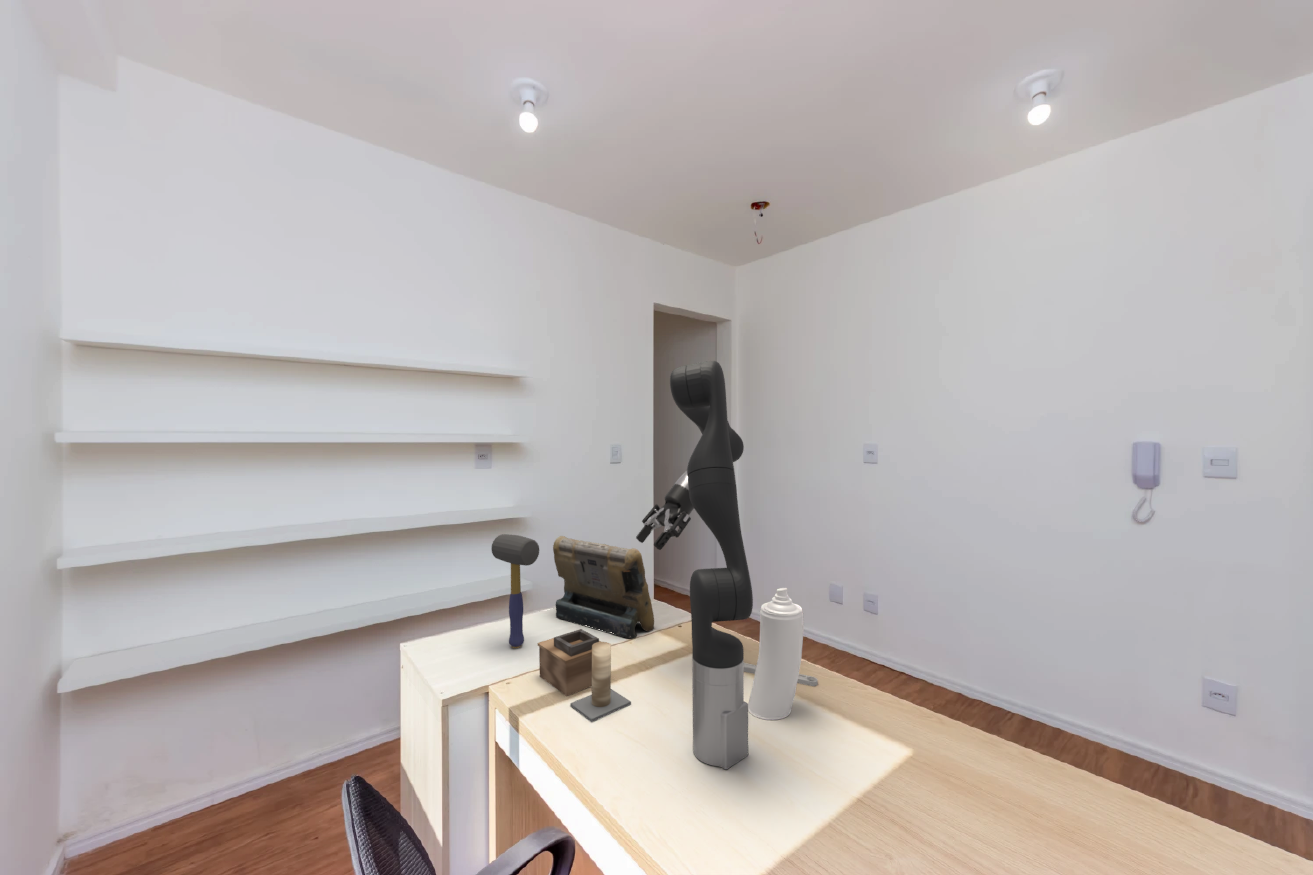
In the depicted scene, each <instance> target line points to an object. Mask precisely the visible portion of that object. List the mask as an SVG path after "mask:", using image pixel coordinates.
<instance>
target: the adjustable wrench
mask: <svg viewBox="0 0 1313 875" xmlns="http://www.w3.org/2000/svg"><path fill="white" fill-rule="evenodd" d="M756 666H757V664H756V665H755V664H751V663H748V662H744V673H747V674H753V675H755V671H756ZM818 681H819V680H818V678H817V677H815V676H813V675H807V674H801V673H799V675H798V681H797V684H800V685H805V686H810V687H817V686H818Z"/></svg>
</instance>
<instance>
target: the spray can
mask: <svg viewBox="0 0 1313 875" xmlns="http://www.w3.org/2000/svg"><path fill="white" fill-rule="evenodd" d="M760 606H761V607H760V610H759V617H760V618H759V619H760V624H759V644H758V645H759V646H758V656H757V662H756V665H757V666H756V671H755V674H754V676H753V682H752V686H751V691H750V695H749V698H748V702H747V703H748V713H750V714H751V716H753V717H755V718H758V719H761V720H767V721H777V720H782V719H785V718H786V717H788V716H789V715H790V714H791V712H792V709H793V708H792V707H793V704H794V701H795V700H794V699H795V696H796V691H797V684H798V683H797V681H798V675H799V674H800V668H801V665H802V664H801V663H802V654H803V642H804V640H803V639H804V630H805V629H804V628H805V622H804V621H805V620H804V613H803V608H802V607H801V605H799V604H797V603H794V602H793V599H792V598H790V595H789V594H788V588H787V587H780V588H777V589H776V593H775V594H774V596H773V597H771V600H770V601H768V602H765V603H762V604H761V605H760Z"/></svg>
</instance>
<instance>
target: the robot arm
mask: <svg viewBox="0 0 1313 875" xmlns="http://www.w3.org/2000/svg"><path fill="white" fill-rule="evenodd" d="M669 386H670V393H671V396H672V400H673V401H674V403H675V405H676V406H677V407H678V408H679V410H680V411H681V412H682V413H683V414H684V415H685V416H686V417H687V418H688V419H689V420H690V421H692V422H693V424H694V425H696V427H698V430H699V431H700V432H701V434H702V435H701V436H700V438H699V441H698V442H697V444H696V445H695V448H694V450H693V452H692V454H691V456H690V458H689V459H688V460H689V461H688V464H687V468H686V470H685V471H684V473H683V474H681V476H679V477H678V479H677V480H676V481H675V483H674V484H673V486H672V487H671V488H670V489H669V490H668V492H667V493H666V495H664V501H665V502H664V504H663V505H662V506H660V505H658V504H657V503H656V504H654V506H653V507H652V508H651V509H650V510H649V512H648V513H647V514H646V515H645V516H644V517H643V519H642V520H641V522H642V523H643V527H642V528H641V529H640V530H639V532H638V533H637V534H636V537H635V539H636V540H637V541H638V542H639V543H641V544H643V543H644V542H646V540H647V538H648V537H649V535H651V533H652V531H655V529H657V528H658V529H660V528H661V527H664V530H663V531H661V533H660V535H659V536H658V537H657V539H656V540H655V541H654V543H653V546H654V547H655V548H656V549H657V550H659V551H661V550H662V549H663V548H664V547H665V545H666V544H667V543H668V541H669V540H670V539H673V538H674V537H675V538H679V537H680V535H681V534H682V533H683V531H684V530H685V528H686V527H687V526H688V524H689V522H691V520H692V519H691V518H692V517H690V515H691V513H692V512H693V511H695V512H696V513H697V515H698V516H699V518H701V520H702V521H703V523H704V524H705V525H706V526H707V528H708V529H709V530H710V531H711V533H712V535H714V538H715V539H716V540H717V543H718V544H719V547H720V548H721V551H722V554H723V557H724V562H725V565H726V566H725V567H716V568H715V567H714V568H699V569H695V570H694V571H693V572H692V574H691V576H690V581H689V601H690V603H689V604H690V618H691V644H692V645H691V646H692V648H691V651H692V653H691V655H692V656H691V658H692V659H691V662H692V668H691V670H692V672H691V674H692V675H691V676H692V678H691V679H692V685H691V688H692V690H691V691H692V694H691V695H692V751H693V754H694V755H695V757H696V758H697V759H698V760H699V761H701V762H702V763H705V764H707V765H710V766H713V767H721V768H722V769H724V770H728V769H729V768H731V767H732V766H734V765H735V764H737V763H738V762H740V761H741V760H743V759H744V758H746V757H748V756H749V711H748V702H746V701H744V699H745V698H744V697H745V696H744V690H745V688H744V686H745V684H744V683H745V682H744V677H745V676H744V673H745V672H744V663H745V661H744V656H745V654H744V652H745V651H744V645H743V642H742V641H741V640H740V639H739V638H738V637H737V636H736V635H733V634H731V633H727V632H724V631H721V630H719V629H717V628H714V627H713V623H716V622H717V623H718V622H731V621H743V620H747V619H749V617H751V615H752V613H753V607H754V597H753V589H752V588H753V587H752V582H751V576H750V571H749V567H748V566H749V565H748V560H747V557H746V550H745V546H744V540H743V536H742V535H743V534H742V528H741V521H740V520H741V519H740V512H739V500H738V493H737V492H738V489H737V481H736V475H735V474H736V472H735V466H734V463H735V462H737V461H739V460H740V458H742V455H743V453H744V451H745V450H744V448H745V447H744V445H745V444H744V442H743V440H742V437H741V436H740V435H739V434H738V433H737V432H736V431H735V430H734V428H732V427H731V425H730V422H729V420H728V408H727V407H728V406H727V389H726V380H725V376H724V371H723V367H722V366H721V364H720V362H718V361H717V360H708V361H701V362H695V363H692V364H687V365H682V366H679V367H677V368H674V369H673V370H672V371H671V372H670V376H669Z"/></svg>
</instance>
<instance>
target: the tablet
mask: <svg viewBox="0 0 1313 875" xmlns="http://www.w3.org/2000/svg"><path fill="white" fill-rule="evenodd" d="M552 551H553V552H552V553H553V560H554V564H555V568H556V571H557V575H558V578H561V579H563V580H564V581H563V584H564V585H563V593H564V595H563V597H560V598H559V599H556V601H555V610H556V611H555V616H556V618H557V619H561V620H564V621H566V620H567V622H570V621H572V622H571V623H573V622H575V623H574V624H576V623H578V625H580V624H581V625H580V626H583V625H587V626H590V627H593V628H596V629H600V630H603V631H606V632H605V633H607V632H612V633H614V634H616V635H615V636H617V635H618V637H622V638H627V639H635V638H636V637H637V636H638V634H637V632H636V626H637V624H638V623H640V626H641V628H642V629H643V631H646V632H651V631H653V630H654V629H655V615H654V614H655V613H654V610H653V605H652V599H651V597H650V591H649V584H648V582H647V579H646V570H645V566H644V561H643V556H642V553H641V552H640V551H639V550H638V549H637V548H633V547H632V548H625V547H618V546H616V545H615V546H613V545H609V544H605V543H599V542H598V543H597V542H592V541H584V540H580V539H575V538H574V539H573V538H569V537H566V536H564V535H558V537H557V538H555V540H554V542H553V545H552ZM590 627H589V628H590ZM593 628H592V629H593ZM596 629H595V630H596ZM600 630H599V631H600ZM603 631H602V632H603ZM614 634H613V635H614Z"/></svg>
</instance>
